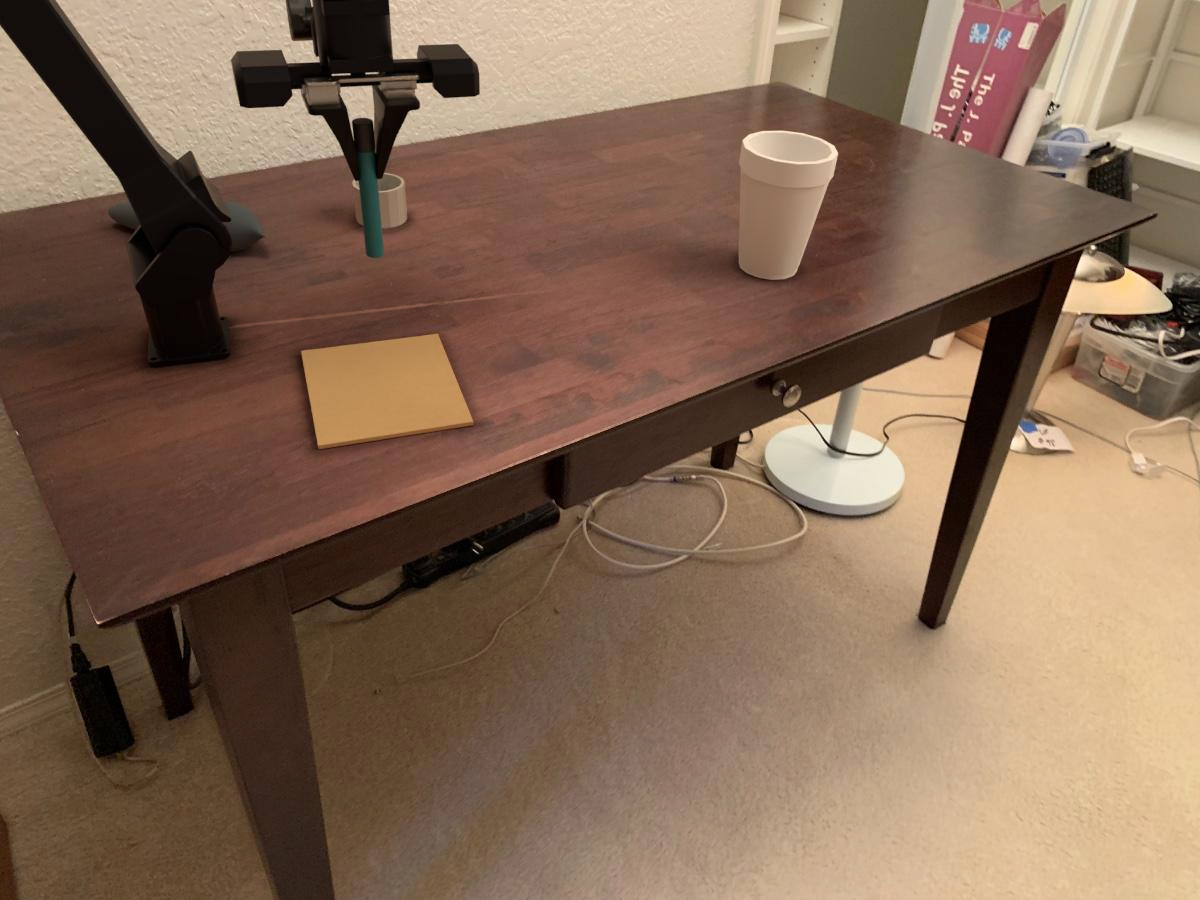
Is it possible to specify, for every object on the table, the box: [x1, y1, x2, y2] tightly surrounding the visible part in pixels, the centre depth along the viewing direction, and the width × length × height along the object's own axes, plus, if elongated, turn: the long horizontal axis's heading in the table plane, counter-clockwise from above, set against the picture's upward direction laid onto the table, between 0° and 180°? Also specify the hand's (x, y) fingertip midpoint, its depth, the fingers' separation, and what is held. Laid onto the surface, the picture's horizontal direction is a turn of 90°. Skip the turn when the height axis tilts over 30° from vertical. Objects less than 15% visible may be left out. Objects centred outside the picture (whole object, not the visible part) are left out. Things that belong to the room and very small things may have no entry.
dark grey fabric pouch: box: [107, 200, 266, 253], centre depth 94 cm, size 20×5×5 cm, turn 77°
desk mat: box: [300, 333, 474, 450], centre depth 76 cm, size 14×12×1 cm
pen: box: [351, 117, 385, 259], centre depth 79 cm, size 2×2×12 cm
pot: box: [351, 172, 408, 230], centre depth 101 cm, size 6×6×4 cm
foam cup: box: [738, 130, 839, 281], centre depth 95 cm, size 10×9×13 cm
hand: (367, 178), depth 79 cm, fingers closed on pen, 1 cm apart
